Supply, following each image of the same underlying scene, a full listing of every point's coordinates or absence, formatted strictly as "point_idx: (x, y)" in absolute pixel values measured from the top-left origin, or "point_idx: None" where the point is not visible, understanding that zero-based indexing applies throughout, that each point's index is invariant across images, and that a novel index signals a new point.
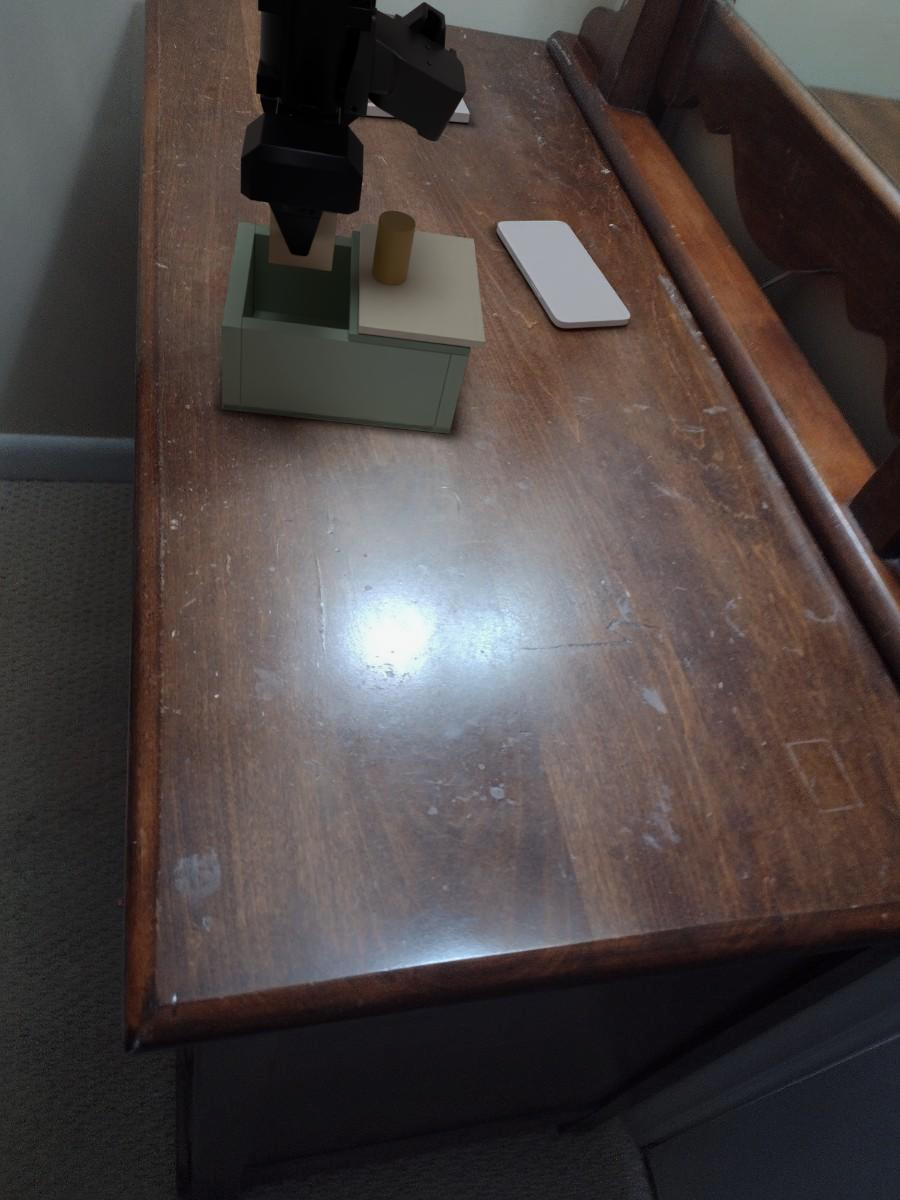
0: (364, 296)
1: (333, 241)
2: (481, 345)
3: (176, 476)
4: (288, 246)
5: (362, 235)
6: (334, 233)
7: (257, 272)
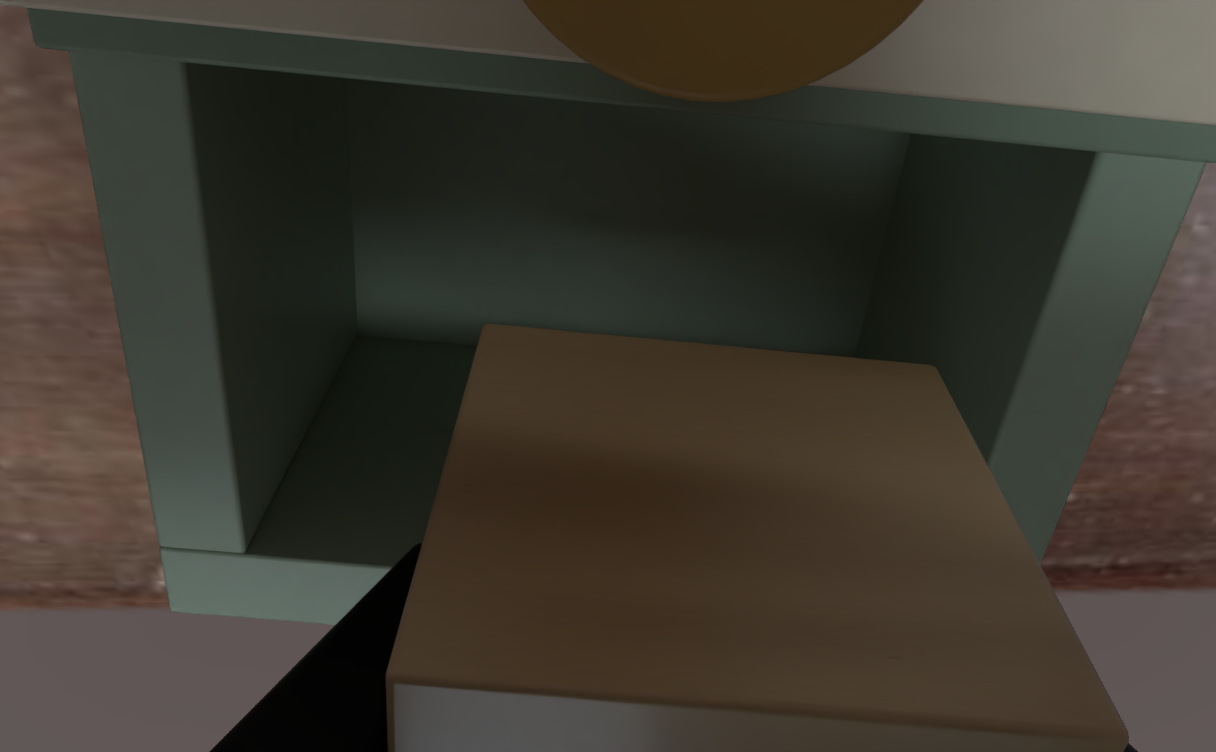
0: (979, 64)
1: (1019, 526)
2: None
3: (1163, 528)
4: None
5: (174, 8)
6: (1044, 577)
7: (310, 415)
